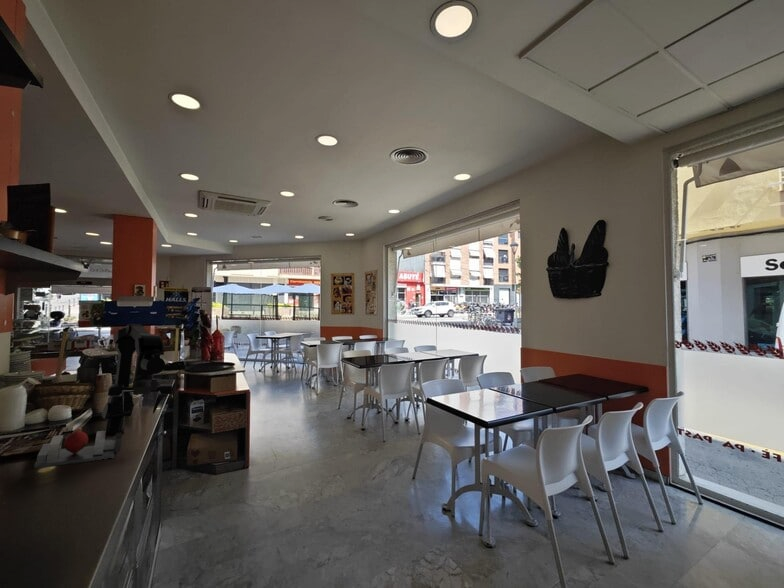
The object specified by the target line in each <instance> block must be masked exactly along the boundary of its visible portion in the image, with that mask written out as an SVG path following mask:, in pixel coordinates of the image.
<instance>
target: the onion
mask: <svg viewBox="0 0 784 588" xmlns="http://www.w3.org/2000/svg"><path fill="white" fill-rule="evenodd" d="M82 430H83V429H82V428H81V427H78V428H77V429H76V430H75V431H73V432H72V433H70V434H69V435H68V436H67V437H66V439H65V440H64V444H63V445H64V446H63V447H64V449H66V450H67V451H69V452H71V453H77V452H78V451H80V450H81V449H83V448H84V447H86V446H87V445H88V442H89V436H88V434H87V433H85V432H84V431H82Z"/></svg>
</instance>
